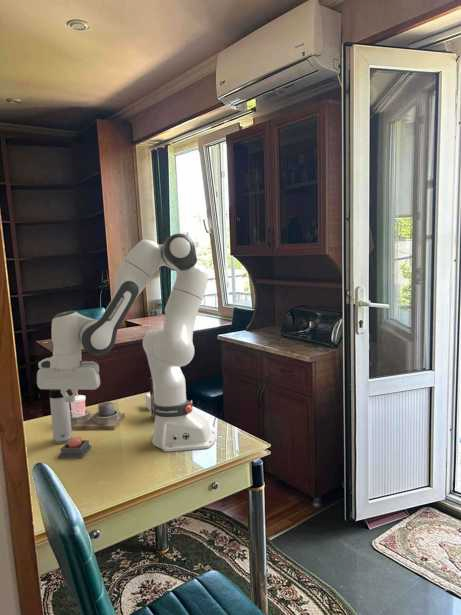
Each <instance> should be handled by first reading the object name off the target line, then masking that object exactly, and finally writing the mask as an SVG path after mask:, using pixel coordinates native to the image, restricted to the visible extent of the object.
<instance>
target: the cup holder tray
mask: <svg viewBox="0 0 461 615" xmlns="http://www.w3.org/2000/svg"><path fill="white" fill-rule="evenodd" d="M97 408H98V410H97V411H96V412H95V413H91V411H90V410H88V409H86V408H85V415H83V416H79V417H73V416H72V410H70V419H71V430H72V431H97V430H98V431H105V430H106V431H107V430H109V431H114V430H116V429H117V428H118V427H119V425H120V424H121V423H122V421H123V420H124V419H125V418H126V416H125V415H126V413H120V410H117V409H116V408H115V402H112V401H111V402H110V401H106V402H105V401H104V402H102V403H99V404H98V405H97Z"/></svg>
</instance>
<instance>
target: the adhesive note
mask: <svg viewBox="0 0 461 615" xmlns="http://www.w3.org/2000/svg"><path fill="white" fill-rule="evenodd" d="M145 401H146V402H145V405H146V408H147V410H149V412H151V398H150V392H149V393H145Z"/></svg>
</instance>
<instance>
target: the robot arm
mask: <svg viewBox="0 0 461 615" xmlns="http://www.w3.org/2000/svg"><path fill="white" fill-rule="evenodd" d="M197 262H198V256H197V252H196V246H195V243H194V241H193V240H192V238H191V237H189V236H188V235H186V234H184V233H174V234H172V235H170V236H168V237H167V239H166V240H165V241H164V243H162V244H160V243H157V242H155V241H153V240H151V239H142V240H140V241H139V242H138V243H137V244H136V245H135V246H133V248H132V249H131V250H130V251H129V252H128V254H127V255H126V256H125V258H124V259H123V260H122V262H121V263H120V266H118V269H117V271H116V273H115V275H114V294H113V296H112V299H111V300H110V302H109V303H108V305H107V307H106V308H105V310H104V312H103V313H102V315H101V316H100V318H98V319H95V318H92V317H88V316H85V315H83V314H80V313H79V312H77V311H76V310H68V311H66V310H65V311H63V312H60V313H57V314H56V315H54V317H53V318H52V321H51V342H52V345H53V349H52V356H50V357H46V358H44V359H42V360H41V361H38V364H37V365H38V366H37V367H38V368H39V369H38V370H37V372H36V384H37V385H36V386H37V387H38V388H39V389H40V390H51V389H61V394H62V395H63V397H64V399H65V402H69V403H70V402H75V396H76V395H77V392H78V391H79V390H85V391H87V390H88V391H89V390H92V391H95V390H97V389H98V388H99V387H100V385H101V378H100V374H99V373H100V366H99V363H98V362H95V361H94V360H90V361H89V360H83V359H82V349H84V350H85V352H86V353H88V354H89V355H92V356H104V355H106V354H108V353H109V352H111V350H112V349H113V348H114V347H115V344H116V339H117V333H118V330H119V327H120V326H121V325H122V323H123V321H124V319H125V318H126V316H127V314H128V312H129V311H130V309H131V307H132V306H133V304H134V302H135V301H136V300H137V298H138V297H139V296H140V294H141V293H142V292H143V290H144V289H145V288H146V287H147V285H148V284H149V282H150V281H151V279H152V278H153V276H154V275H155V273H156V271H157V270H159V269H160V268H163V269H167V270H170V271H173V272H174V271H175V272H176V273H175V274H176V277H175V281H174V284H173V286H172V289H171V292H170V295H169V297H168V300H167V302H166V305H165V307H164V315H165V321H164V327H163V328H155V329H151V330H149V331H148V332H146V334H144V336H143V339H142V347H143V350H144V352H145V354H146V357H147V358H146V359H147V362H148V366H149V371H150V374H151V377H152V379H153V389H154V403H153V415H154V417H153V418H154V424H153V426H154V427H153V433H152V434H153V435H152V439H151V443H152V444H153V445H154V447H157V448H160V449H161V450H162V451H163V452H178V451H188V450H189V451H191V450H201V449H209V448H211V447H212V446H213V445H215V443H216V440H217V433H216V431H215V430H213V429H210V425H209V421H208V419H206V418H205V417H204V416H202V415H201V414H199V413H198V412H196V411H195V410H193V400H192V399H191V400H188V399H187V393H186V392H187V387H186V386H187V385H186V378H185V375H184V374H183V371H182V369H181V367H185V366H187V365H188V364H190V362H191V361H192V360H193V358H194V356H195V345H194V343H193V340H194V338H193V337H194V329H195V328H194V327H195V322H196V317H197V315H198V312H199V310H200V308H201V305H202V301H203V298H204V295H205V294H206V290H207V285H208V280H209V273H208V271H207V269H206V268H204V267H203V266H202V265H200V264H198V263H197ZM67 389H68V390H70V391H71V393H72V394H71V395H69V393H68V394H67V392H66V391H67Z"/></svg>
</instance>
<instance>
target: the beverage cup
mask: <svg viewBox="0 0 461 615" xmlns="http://www.w3.org/2000/svg"><path fill="white" fill-rule="evenodd" d="M86 398H87V397H86V395H83V394H79V393H78V392H77V394H76V396H75V402H69V404H70V409H71V411H72V416H73V417H79V416H83V415H85V409H86Z"/></svg>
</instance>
